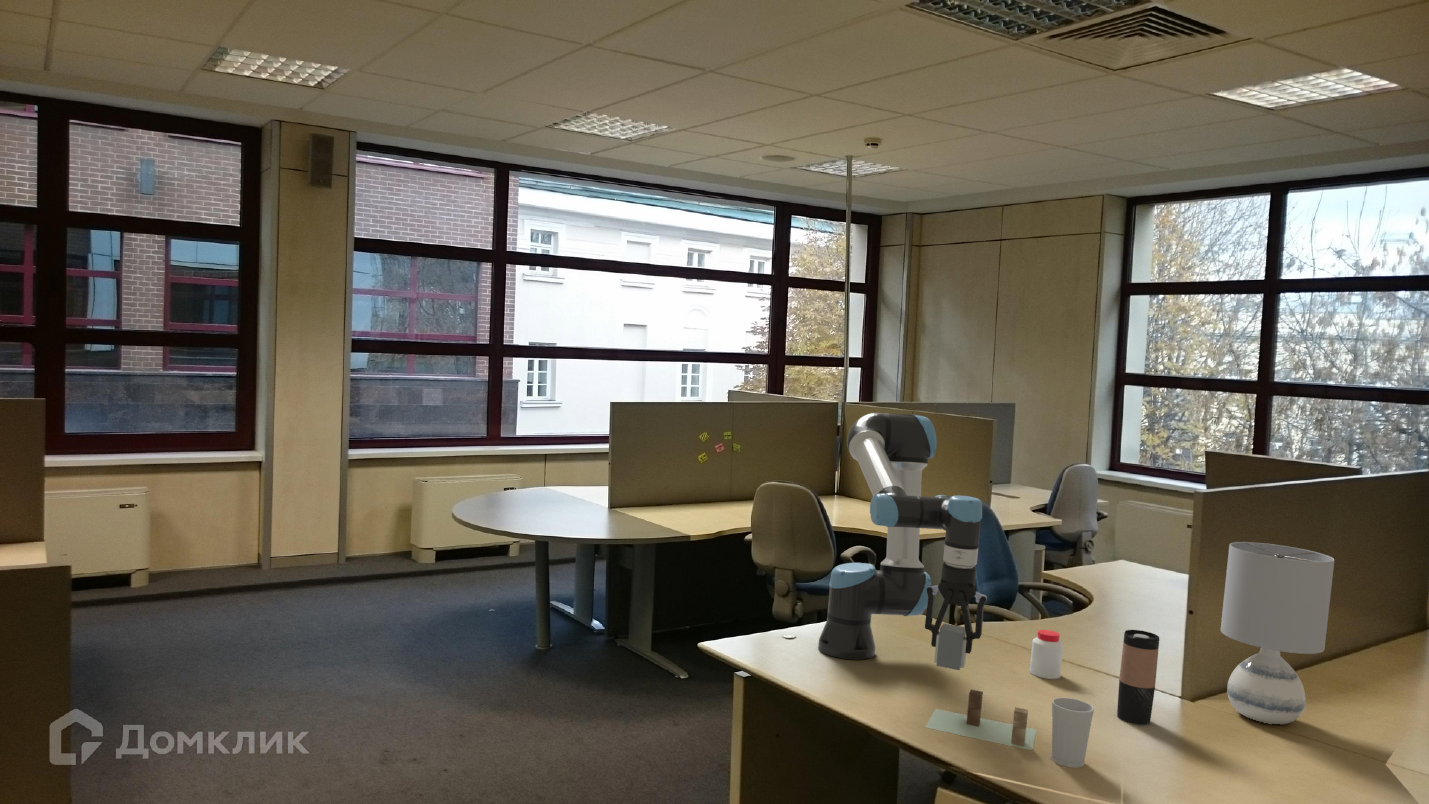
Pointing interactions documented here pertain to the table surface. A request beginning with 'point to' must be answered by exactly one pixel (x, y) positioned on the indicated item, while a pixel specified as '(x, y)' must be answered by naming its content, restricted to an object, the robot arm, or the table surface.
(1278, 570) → the lamp
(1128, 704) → the travel mug
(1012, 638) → the table surface
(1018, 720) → the oak post
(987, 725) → the board
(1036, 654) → the pill bottle
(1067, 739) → the cup
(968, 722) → the walnut post
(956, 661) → the tall gray brick
